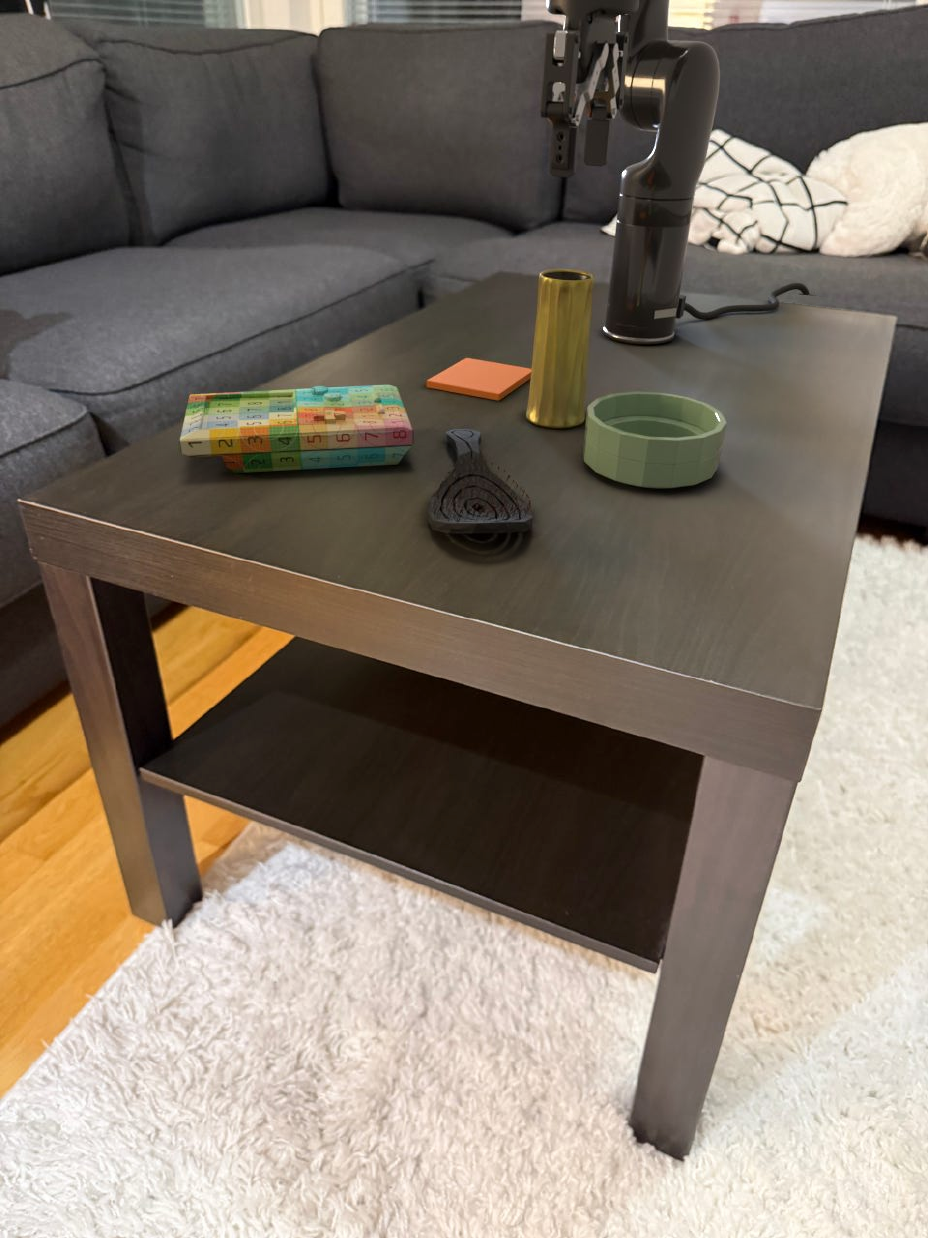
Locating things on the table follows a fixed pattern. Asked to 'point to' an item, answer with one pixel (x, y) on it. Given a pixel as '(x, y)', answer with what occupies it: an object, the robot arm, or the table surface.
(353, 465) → the puzzle game
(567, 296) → the vase
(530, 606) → the table surface
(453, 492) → the hairbrush
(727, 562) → the table surface
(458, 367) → the square tile
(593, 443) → the bowl
